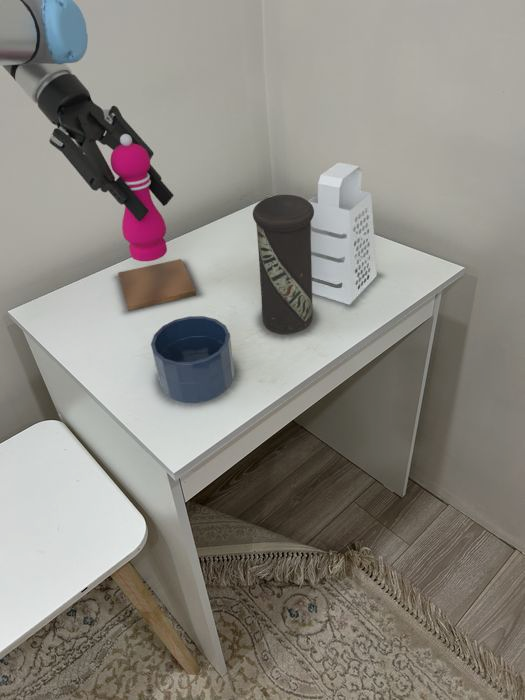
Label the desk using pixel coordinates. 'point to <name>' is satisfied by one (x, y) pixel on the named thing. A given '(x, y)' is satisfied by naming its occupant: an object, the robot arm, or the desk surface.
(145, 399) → the desk surface
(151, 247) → the pepper mill
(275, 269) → the container
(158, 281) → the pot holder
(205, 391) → the pot
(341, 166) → the grater
